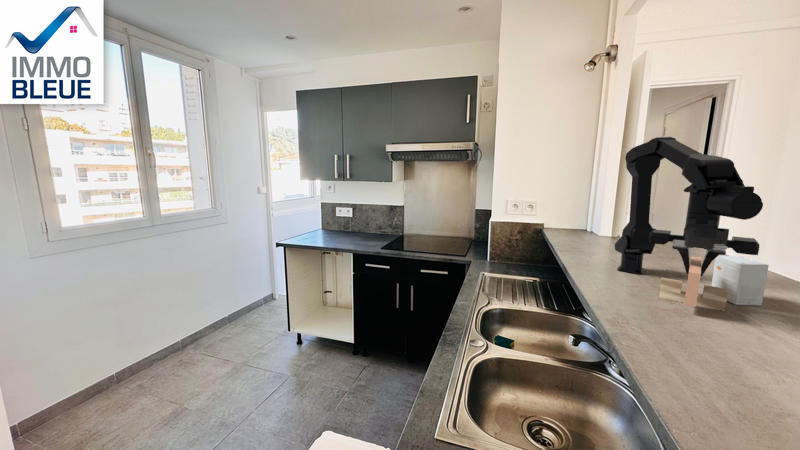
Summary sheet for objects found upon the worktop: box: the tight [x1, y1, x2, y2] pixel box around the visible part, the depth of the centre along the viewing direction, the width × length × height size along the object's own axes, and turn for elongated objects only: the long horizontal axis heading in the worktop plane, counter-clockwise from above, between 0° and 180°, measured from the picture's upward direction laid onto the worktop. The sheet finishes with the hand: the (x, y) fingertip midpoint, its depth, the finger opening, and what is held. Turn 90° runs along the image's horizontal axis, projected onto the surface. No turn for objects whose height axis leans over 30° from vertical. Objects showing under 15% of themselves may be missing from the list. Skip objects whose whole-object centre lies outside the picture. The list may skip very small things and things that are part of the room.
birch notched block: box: [658, 277, 728, 312], centre depth 77 cm, size 2×12×5 cm, turn 45°
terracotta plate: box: [683, 255, 703, 308], centre depth 76 cm, size 16×2×8 cm, turn 136°
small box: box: [711, 255, 770, 306], centre depth 78 cm, size 8×6×10 cm
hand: (694, 274), depth 76 cm, fingers closed on terracotta plate, 2 cm apart
